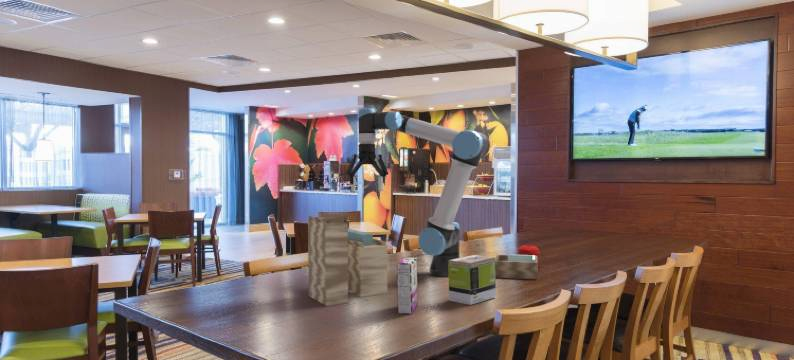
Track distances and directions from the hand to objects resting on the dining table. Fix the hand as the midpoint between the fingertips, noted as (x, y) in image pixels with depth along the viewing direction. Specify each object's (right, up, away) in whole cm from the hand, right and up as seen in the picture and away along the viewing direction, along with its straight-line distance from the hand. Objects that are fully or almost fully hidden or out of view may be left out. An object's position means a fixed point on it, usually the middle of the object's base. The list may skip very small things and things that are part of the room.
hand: (367, 191), depth 239 cm
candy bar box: (+17, -38, -62) cm, 74 cm away
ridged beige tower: (-1, -37, -32) cm, 49 cm away
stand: (-11, -38, -47) cm, 61 cm away
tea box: (+40, -38, -48) cm, 73 cm away
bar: (-4, -19, -26) cm, 32 cm away
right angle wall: (+68, -37, -2) cm, 77 cm away
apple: (+75, -36, +15) cm, 85 cm away
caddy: (+65, -36, -3) cm, 75 cm away
